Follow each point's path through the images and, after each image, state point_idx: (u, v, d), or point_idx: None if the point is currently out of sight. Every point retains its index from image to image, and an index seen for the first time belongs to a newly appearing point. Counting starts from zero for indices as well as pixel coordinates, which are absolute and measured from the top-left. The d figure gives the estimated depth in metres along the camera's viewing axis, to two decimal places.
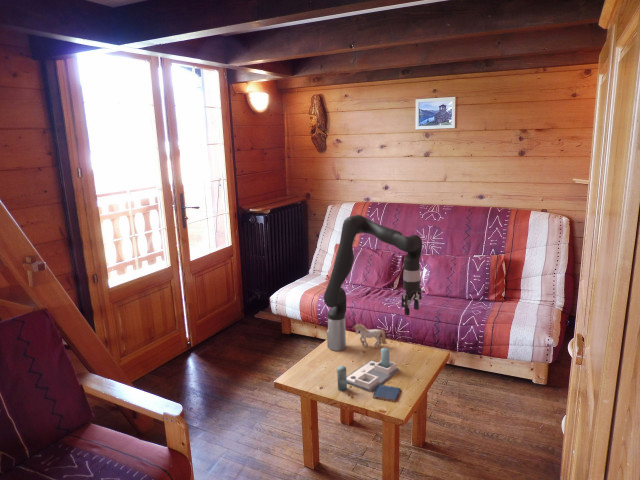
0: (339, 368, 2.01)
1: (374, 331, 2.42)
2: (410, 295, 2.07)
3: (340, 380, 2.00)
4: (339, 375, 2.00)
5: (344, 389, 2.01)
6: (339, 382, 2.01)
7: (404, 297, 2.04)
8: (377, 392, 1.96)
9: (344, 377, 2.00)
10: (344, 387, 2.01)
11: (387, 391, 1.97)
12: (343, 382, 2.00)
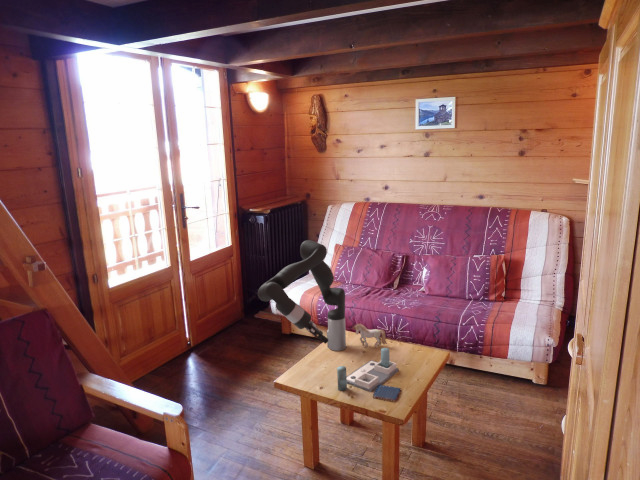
0: (339, 368, 2.01)
1: (374, 331, 2.42)
2: None
3: (340, 380, 2.00)
4: (339, 375, 2.00)
5: (344, 389, 2.01)
6: (339, 382, 2.01)
7: None
8: (377, 392, 1.96)
9: (344, 377, 2.00)
10: (344, 387, 2.01)
11: (387, 391, 1.97)
12: (343, 382, 2.00)
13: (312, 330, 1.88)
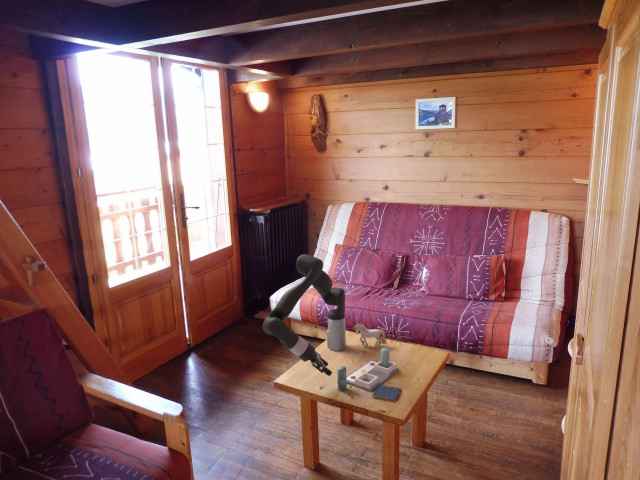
0: (339, 368, 2.01)
1: (374, 331, 2.42)
2: None
3: (340, 380, 2.00)
4: (339, 375, 2.00)
5: (344, 389, 2.01)
6: (339, 382, 2.01)
7: None
8: (377, 392, 1.96)
9: (344, 377, 2.00)
10: (344, 387, 2.01)
11: (387, 391, 1.97)
12: (343, 382, 2.00)
13: (315, 364, 1.91)
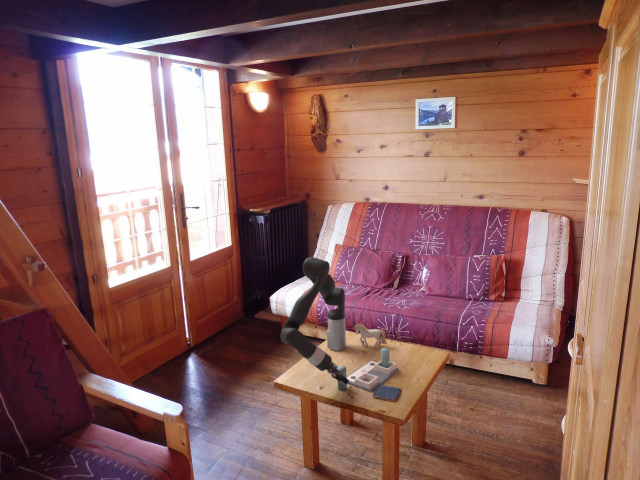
0: (339, 368, 2.01)
1: (374, 331, 2.42)
2: None
3: None
4: None
5: (344, 389, 2.01)
6: (339, 382, 2.01)
7: None
8: (377, 392, 1.96)
9: None
10: (344, 387, 2.01)
11: (387, 391, 1.97)
12: None
13: (334, 375, 1.94)
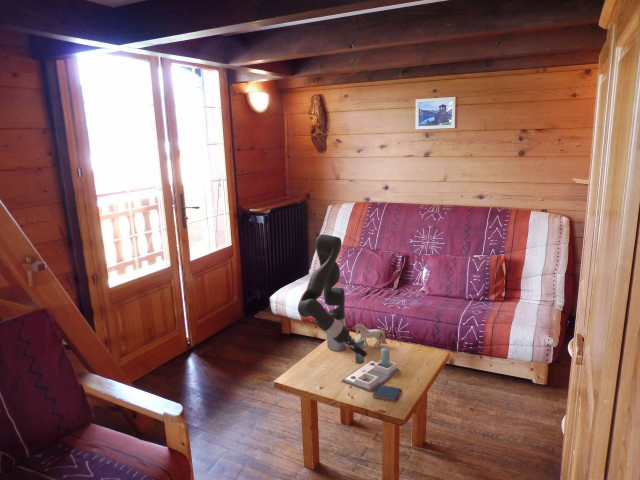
0: (357, 341, 2.01)
1: (374, 331, 2.42)
2: None
3: (358, 353, 2.00)
4: None
5: (362, 362, 2.01)
6: (357, 355, 2.01)
7: None
8: (377, 392, 1.96)
9: None
10: (362, 360, 2.01)
11: (387, 391, 1.97)
12: None
13: (352, 347, 1.94)
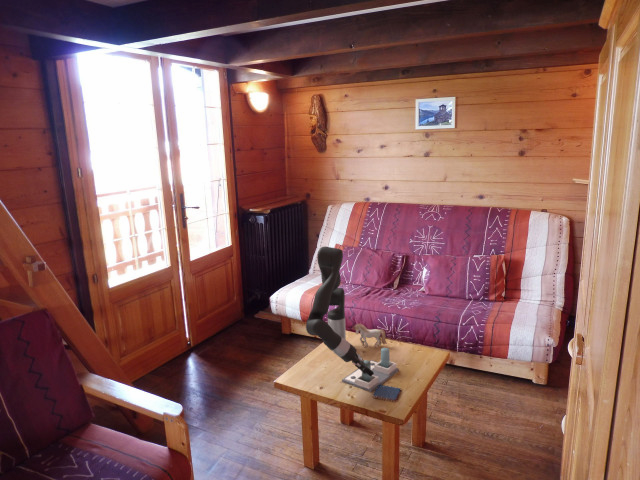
0: None
1: (374, 331, 2.42)
2: None
3: (364, 374, 2.03)
4: None
5: None
6: (363, 376, 2.03)
7: None
8: (377, 392, 1.96)
9: None
10: (368, 381, 2.03)
11: (387, 391, 1.97)
12: (367, 376, 2.03)
13: (358, 365, 1.95)
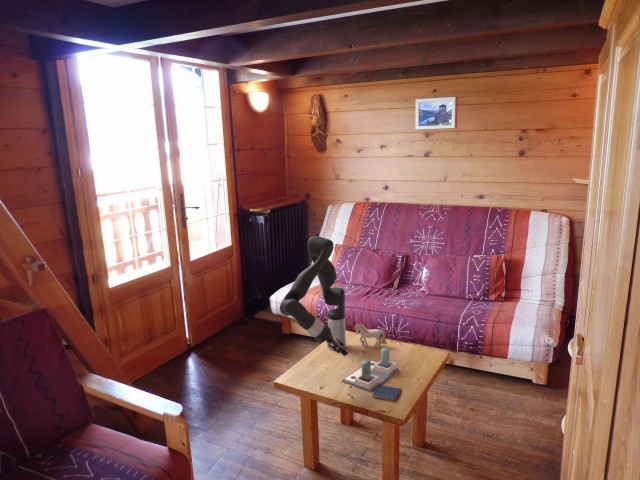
0: (363, 362, 2.03)
1: (374, 331, 2.42)
2: None
3: (364, 374, 2.03)
4: (364, 369, 2.02)
5: None
6: (363, 376, 2.03)
7: None
8: (377, 392, 1.96)
9: (368, 371, 2.02)
10: (368, 381, 2.03)
11: (387, 391, 1.97)
12: (367, 376, 2.03)
13: (331, 344, 1.96)
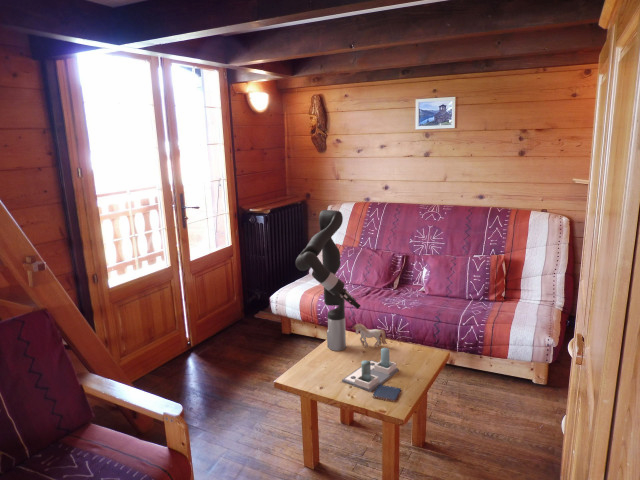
0: (363, 362, 2.03)
1: (374, 331, 2.42)
2: None
3: (364, 374, 2.03)
4: (364, 369, 2.02)
5: None
6: (363, 376, 2.03)
7: None
8: (377, 392, 1.96)
9: (368, 371, 2.02)
10: (368, 381, 2.03)
11: (387, 391, 1.97)
12: (367, 376, 2.03)
13: (345, 296, 2.06)
